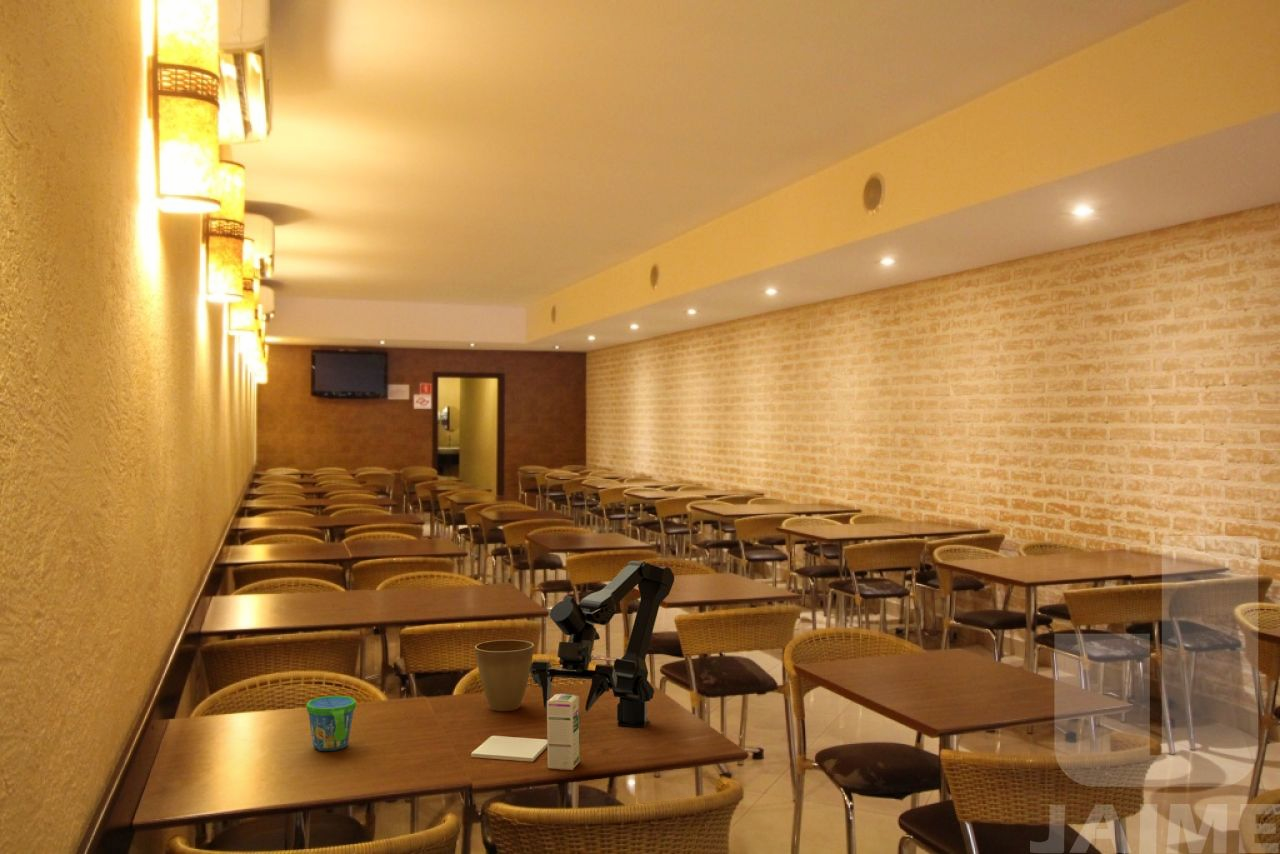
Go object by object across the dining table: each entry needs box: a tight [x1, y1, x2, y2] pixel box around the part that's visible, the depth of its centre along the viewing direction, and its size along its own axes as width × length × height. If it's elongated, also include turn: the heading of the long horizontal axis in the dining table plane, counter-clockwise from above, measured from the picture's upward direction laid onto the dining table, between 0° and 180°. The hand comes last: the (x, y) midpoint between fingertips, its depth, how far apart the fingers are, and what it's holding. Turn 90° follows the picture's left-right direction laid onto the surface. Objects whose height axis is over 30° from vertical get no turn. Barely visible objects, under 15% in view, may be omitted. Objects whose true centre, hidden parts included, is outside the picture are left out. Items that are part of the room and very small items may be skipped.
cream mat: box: [470, 735, 547, 763], centre depth 229 cm, size 14×13×1 cm
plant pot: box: [474, 639, 535, 712], centre depth 263 cm, size 15×15×16 cm
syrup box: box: [546, 693, 581, 771], centre depth 220 cm, size 6×6×14 cm
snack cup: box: [305, 695, 357, 752], centre depth 231 cm, size 16×10×10 cm
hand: (565, 708), depth 221 cm, fingers open, 9 cm apart
